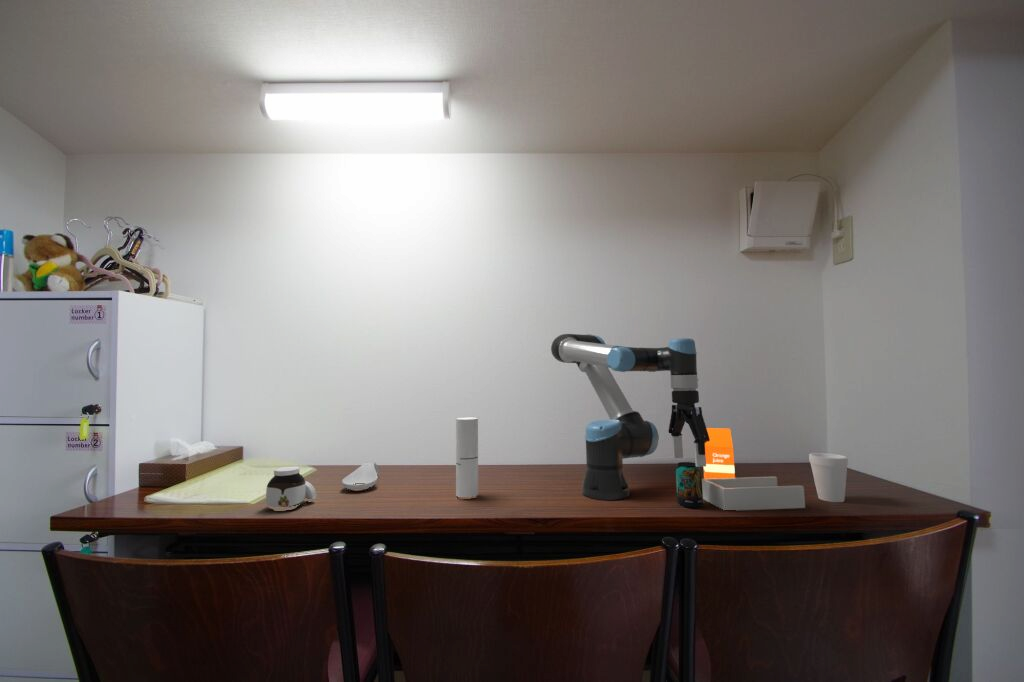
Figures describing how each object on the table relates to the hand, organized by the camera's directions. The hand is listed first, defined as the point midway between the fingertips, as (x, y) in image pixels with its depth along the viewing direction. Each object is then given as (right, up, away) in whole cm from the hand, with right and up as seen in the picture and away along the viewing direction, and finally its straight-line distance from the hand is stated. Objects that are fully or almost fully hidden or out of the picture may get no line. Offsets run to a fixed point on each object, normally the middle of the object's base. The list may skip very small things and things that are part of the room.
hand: (689, 461), depth 124 cm
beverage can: (0, -13, -1) cm, 13 cm away
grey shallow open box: (+19, -12, +1) cm, 23 cm away
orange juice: (+18, -14, +17) cm, 29 cm away
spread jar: (-120, -15, +3) cm, 121 cm away
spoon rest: (-106, -17, +28) cm, 111 cm away
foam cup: (+45, -13, +3) cm, 47 cm away
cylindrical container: (-67, -15, +11) cm, 70 cm away
